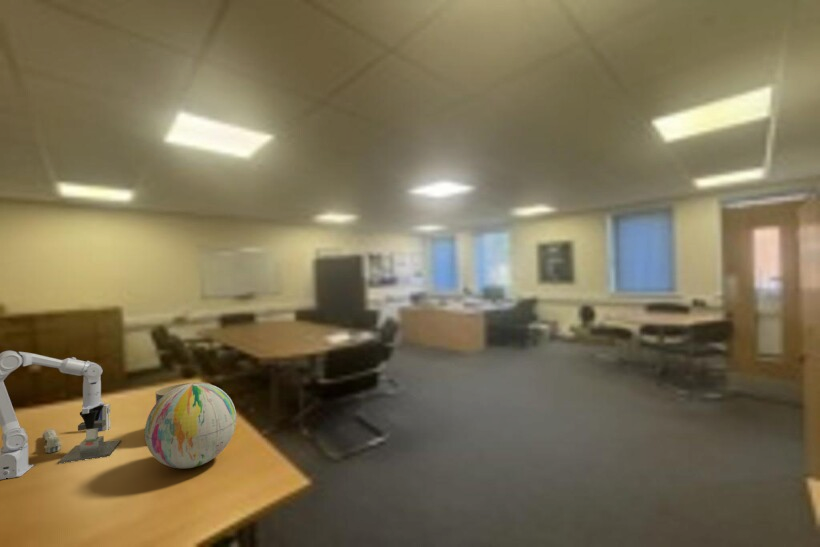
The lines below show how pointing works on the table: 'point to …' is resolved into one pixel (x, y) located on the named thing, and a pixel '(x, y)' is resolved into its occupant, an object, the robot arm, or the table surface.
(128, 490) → the table surface
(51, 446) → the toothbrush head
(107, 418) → the walkman
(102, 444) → the jack base
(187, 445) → the globe
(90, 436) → the jack column
